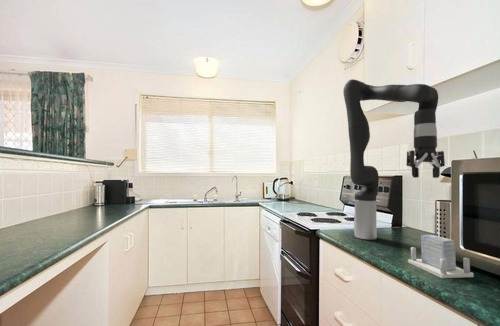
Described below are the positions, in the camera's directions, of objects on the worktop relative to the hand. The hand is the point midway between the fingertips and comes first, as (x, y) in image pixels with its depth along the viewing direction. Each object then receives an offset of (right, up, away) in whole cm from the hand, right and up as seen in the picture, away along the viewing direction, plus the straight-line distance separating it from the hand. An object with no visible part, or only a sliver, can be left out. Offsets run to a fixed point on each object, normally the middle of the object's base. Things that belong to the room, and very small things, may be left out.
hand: (425, 177), depth 100 cm
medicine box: (-10, -26, -21) cm, 35 cm away
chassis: (-10, -27, -21) cm, 35 cm away
